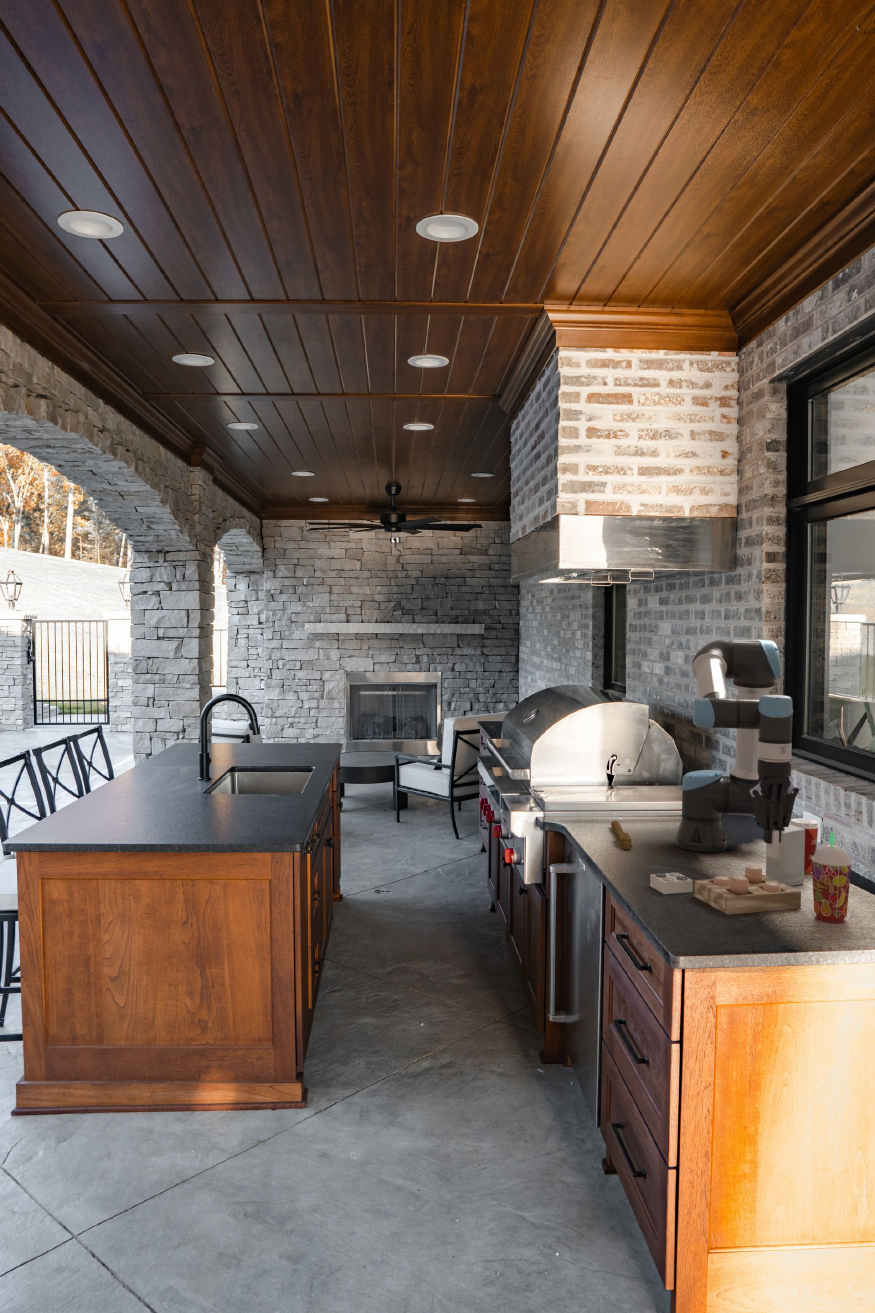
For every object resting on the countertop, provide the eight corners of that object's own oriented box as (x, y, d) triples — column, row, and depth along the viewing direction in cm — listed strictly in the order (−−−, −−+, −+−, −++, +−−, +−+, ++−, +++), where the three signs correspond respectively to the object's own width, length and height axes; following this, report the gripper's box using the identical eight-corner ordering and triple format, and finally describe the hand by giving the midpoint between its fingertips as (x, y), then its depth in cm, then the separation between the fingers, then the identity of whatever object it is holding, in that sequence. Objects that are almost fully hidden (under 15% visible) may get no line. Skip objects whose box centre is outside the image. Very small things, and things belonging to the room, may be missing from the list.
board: (694, 896, 204) (694, 880, 204) (763, 890, 209) (763, 875, 209) (727, 914, 190) (727, 897, 190) (800, 908, 195) (801, 891, 195)
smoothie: (803, 913, 192) (804, 828, 191) (837, 912, 192) (838, 828, 192) (822, 926, 183) (824, 837, 183) (858, 925, 184) (860, 837, 184)
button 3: (741, 880, 205) (741, 865, 205) (755, 879, 206) (755, 864, 206) (751, 885, 201) (751, 870, 201) (765, 884, 203) (765, 869, 202)
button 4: (759, 897, 199) (759, 882, 199) (773, 895, 200) (773, 881, 200) (769, 902, 195) (770, 887, 195) (784, 901, 196) (784, 885, 196)
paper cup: (821, 875, 223) (822, 824, 222) (791, 873, 224) (792, 823, 224) (814, 867, 230) (815, 818, 230) (785, 866, 232) (786, 817, 231)
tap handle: (619, 820, 276) (633, 841, 247) (619, 829, 277) (632, 852, 247) (610, 819, 277) (622, 841, 247) (610, 828, 277) (622, 851, 247)
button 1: (709, 891, 203) (710, 876, 203) (724, 889, 204) (724, 875, 204) (719, 896, 199) (719, 880, 199) (733, 894, 200) (734, 879, 200)
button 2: (726, 891, 196) (727, 876, 196) (741, 890, 197) (741, 874, 197) (737, 896, 192) (737, 880, 192) (751, 895, 193) (752, 879, 193)
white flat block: (650, 886, 212) (650, 873, 212) (677, 884, 214) (677, 871, 214) (664, 894, 205) (664, 881, 205) (692, 892, 207) (692, 879, 207)
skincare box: (786, 878, 220) (787, 823, 219) (805, 884, 214) (806, 828, 214) (764, 882, 216) (765, 826, 216) (782, 888, 211) (783, 831, 210)
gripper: (760, 763, 191) (758, 862, 192) (808, 761, 194) (805, 859, 195) (741, 758, 198) (739, 854, 199) (787, 756, 202) (784, 850, 203)
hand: (772, 856), depth 197 cm, fingers closed
